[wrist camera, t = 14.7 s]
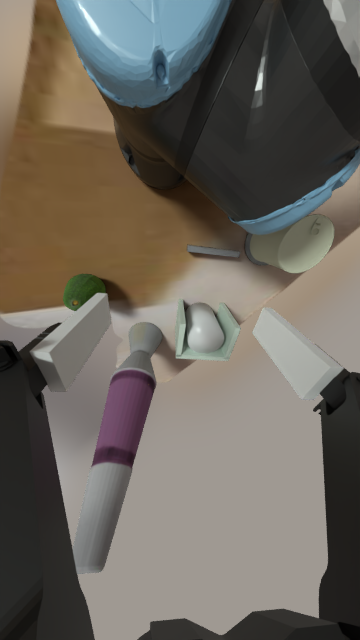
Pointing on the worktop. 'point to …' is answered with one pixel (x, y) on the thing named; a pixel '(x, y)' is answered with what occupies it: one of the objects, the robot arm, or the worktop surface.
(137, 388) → the lamp
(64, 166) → the worktop surface
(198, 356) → the dispenser
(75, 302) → the fruit
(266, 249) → the can
